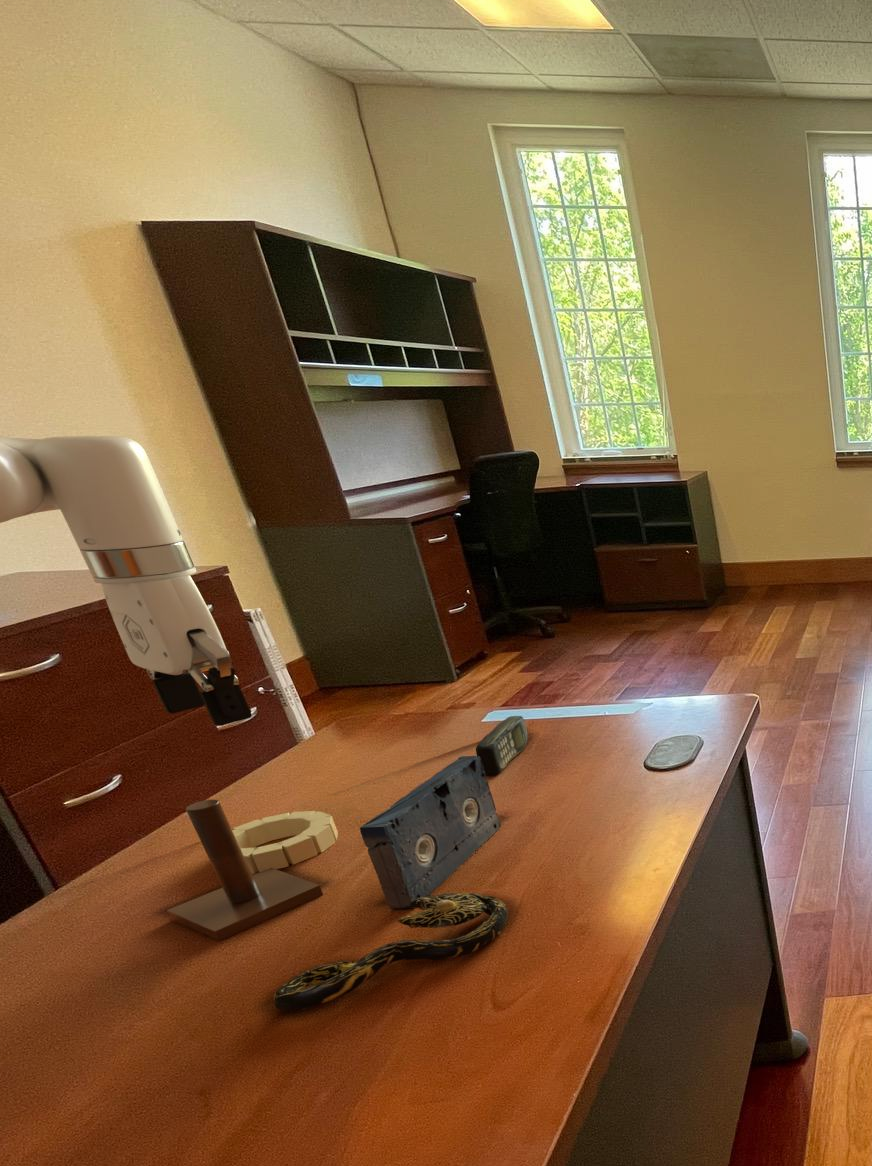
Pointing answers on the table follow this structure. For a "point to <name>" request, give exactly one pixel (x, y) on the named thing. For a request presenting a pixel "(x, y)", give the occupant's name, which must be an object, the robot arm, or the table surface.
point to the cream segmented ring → (309, 840)
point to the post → (236, 882)
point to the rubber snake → (400, 948)
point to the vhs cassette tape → (431, 831)
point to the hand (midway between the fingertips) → (209, 715)
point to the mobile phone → (502, 744)
